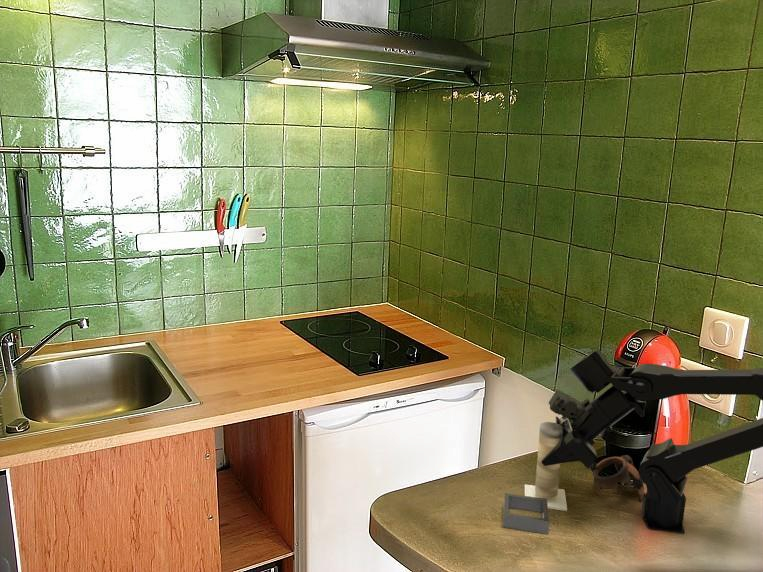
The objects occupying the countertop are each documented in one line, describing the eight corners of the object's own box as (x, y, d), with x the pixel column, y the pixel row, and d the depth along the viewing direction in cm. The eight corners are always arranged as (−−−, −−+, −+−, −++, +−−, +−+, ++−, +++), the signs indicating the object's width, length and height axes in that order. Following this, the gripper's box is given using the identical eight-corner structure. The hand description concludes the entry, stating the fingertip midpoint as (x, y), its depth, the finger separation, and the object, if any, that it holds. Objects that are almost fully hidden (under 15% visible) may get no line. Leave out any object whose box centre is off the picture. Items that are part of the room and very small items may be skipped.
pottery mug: (646, 512, 123) (628, 478, 121) (600, 516, 128) (582, 484, 127) (653, 472, 132) (636, 441, 131) (610, 478, 138) (594, 448, 137)
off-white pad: (564, 491, 128) (564, 489, 128) (567, 511, 121) (567, 509, 121) (524, 486, 130) (524, 484, 130) (524, 505, 123) (524, 503, 123)
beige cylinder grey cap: (556, 488, 127) (562, 423, 124) (558, 499, 123) (563, 432, 120) (534, 485, 128) (539, 421, 125) (535, 496, 124) (540, 429, 121)
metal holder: (545, 510, 121) (547, 498, 121) (547, 534, 113) (548, 521, 113) (503, 504, 123) (504, 493, 122) (502, 527, 115) (503, 514, 114)
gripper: (570, 365, 129) (512, 411, 133) (584, 397, 111) (516, 449, 115) (606, 404, 129) (547, 449, 133) (625, 443, 111) (557, 493, 115)
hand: (541, 458), depth 124 cm, fingers closed on beige cylinder grey cap, 4 cm apart
